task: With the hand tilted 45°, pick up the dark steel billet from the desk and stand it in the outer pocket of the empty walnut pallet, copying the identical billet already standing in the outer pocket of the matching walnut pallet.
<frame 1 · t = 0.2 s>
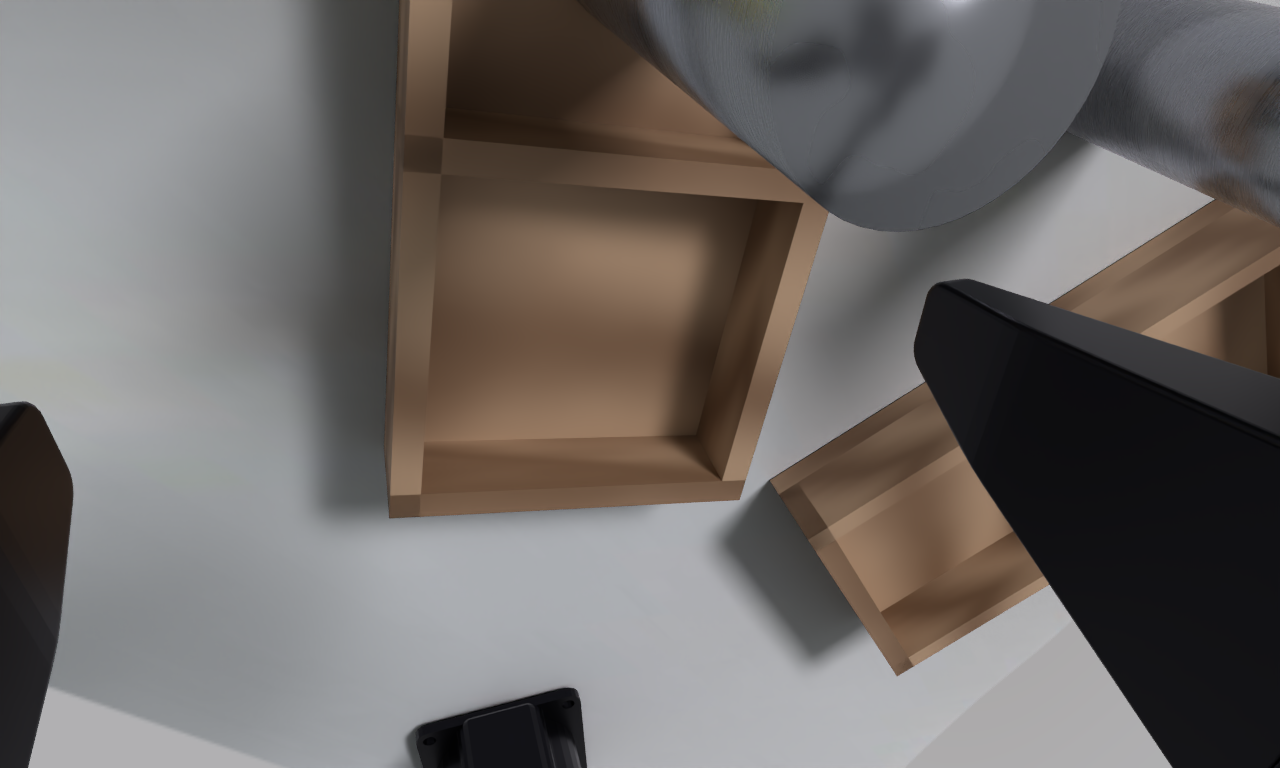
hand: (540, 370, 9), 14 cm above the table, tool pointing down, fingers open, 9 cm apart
pallet empty: (1037, 419, 34), on the table
billet: (1105, 58, 26), on the table
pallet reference: (604, 131, 22), on the table
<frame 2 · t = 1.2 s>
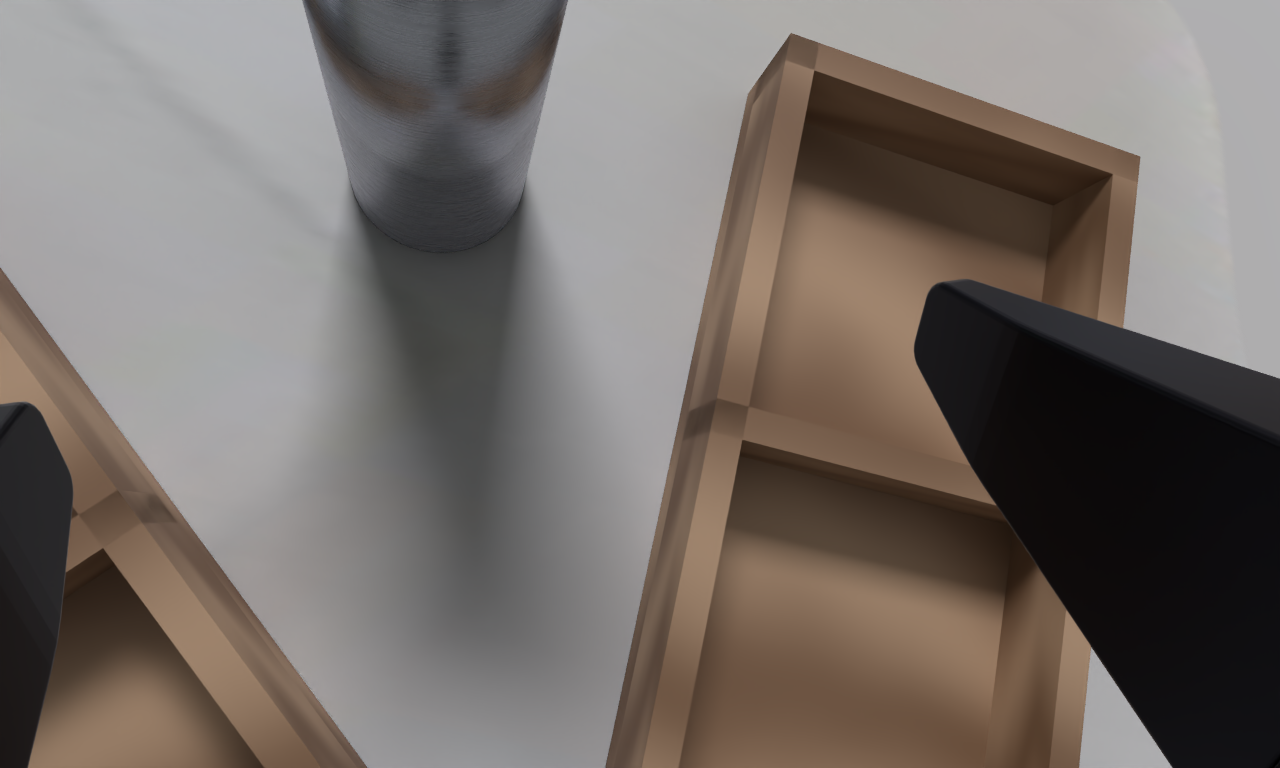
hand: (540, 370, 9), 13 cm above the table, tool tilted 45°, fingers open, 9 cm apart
pallet empty: (856, 475, 24), on the table
billet: (438, 170, 23), on the table
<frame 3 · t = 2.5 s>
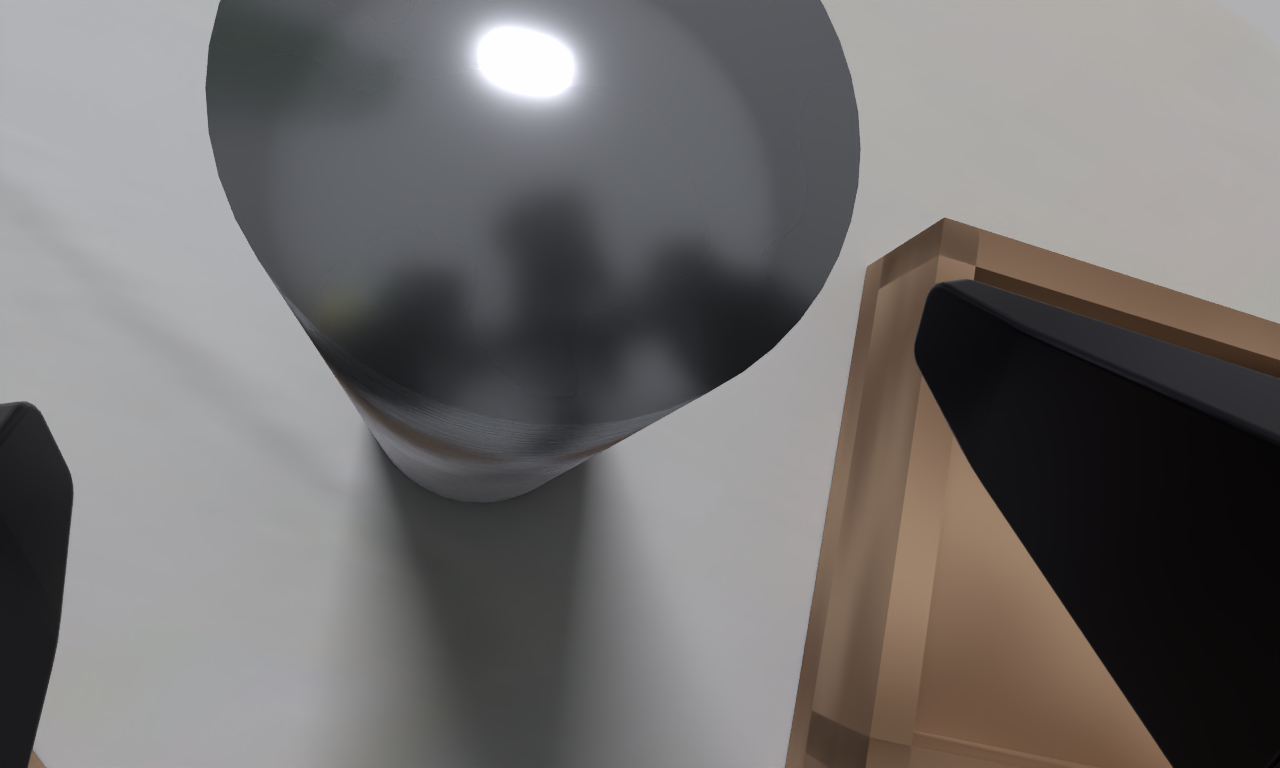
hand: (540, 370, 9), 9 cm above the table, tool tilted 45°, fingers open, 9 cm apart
pallet empty: (1017, 766, 19), on the table
billet: (482, 391, 17), on the table
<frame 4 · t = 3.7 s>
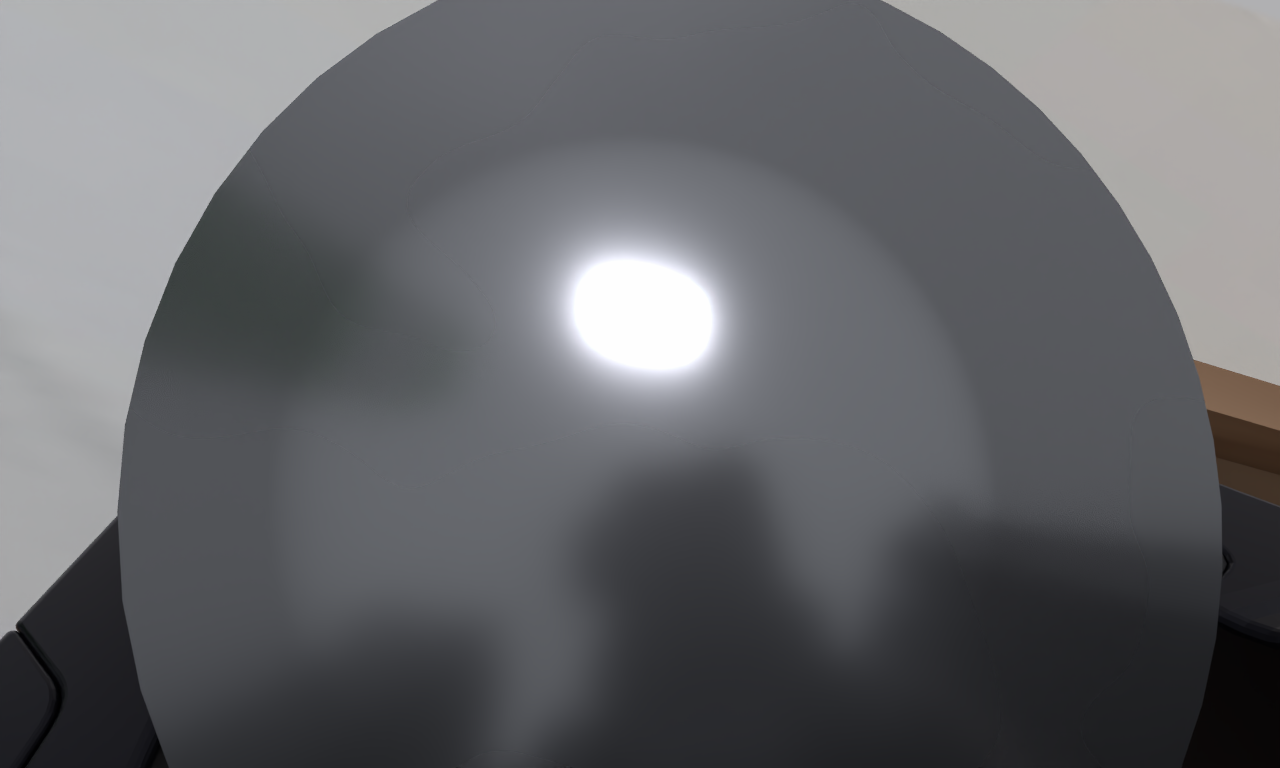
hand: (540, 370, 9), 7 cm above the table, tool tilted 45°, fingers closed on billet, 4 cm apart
billet: (511, 515, 15), on the table, touching gripper
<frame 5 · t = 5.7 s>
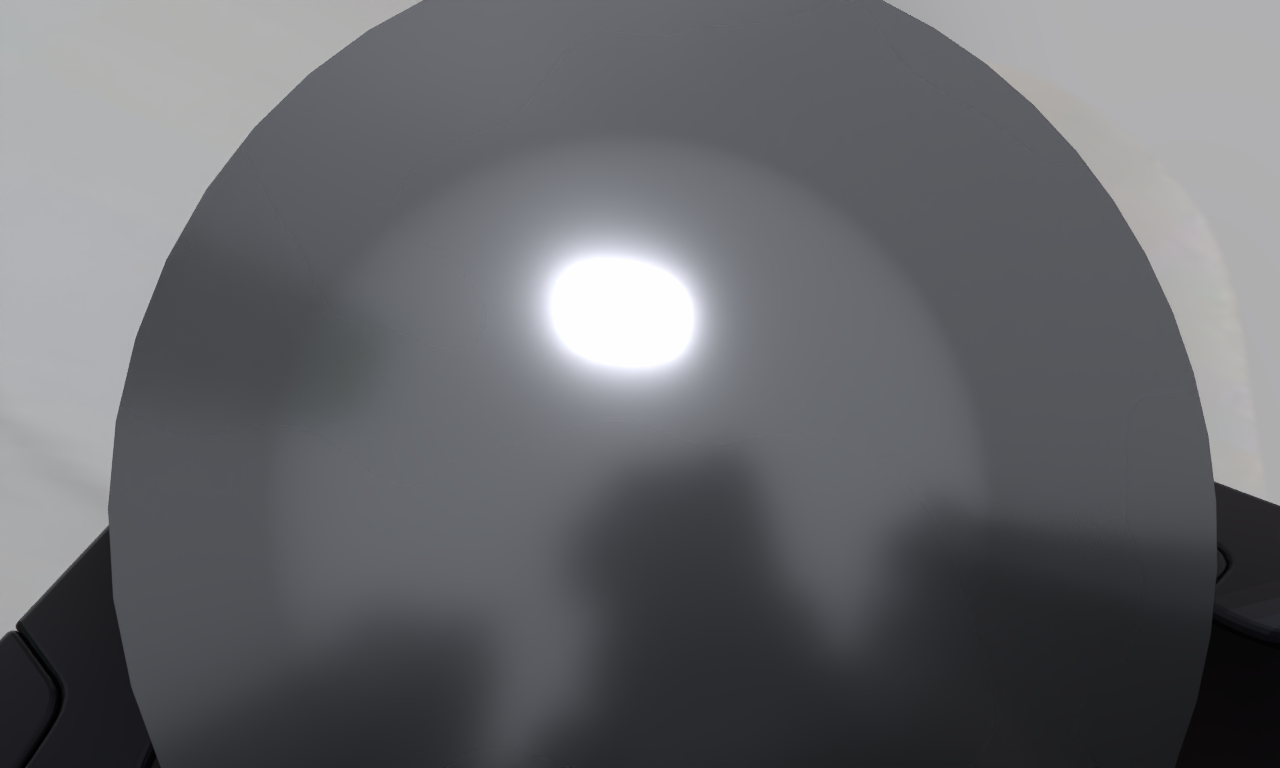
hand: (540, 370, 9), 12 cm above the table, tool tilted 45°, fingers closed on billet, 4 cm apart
billet: (510, 514, 15), point 6 cm above the table, touching gripper
when the fingers open (9 cm above the table, at t = 7.8 s): billet drops 1 cm, resting on pallet empty.
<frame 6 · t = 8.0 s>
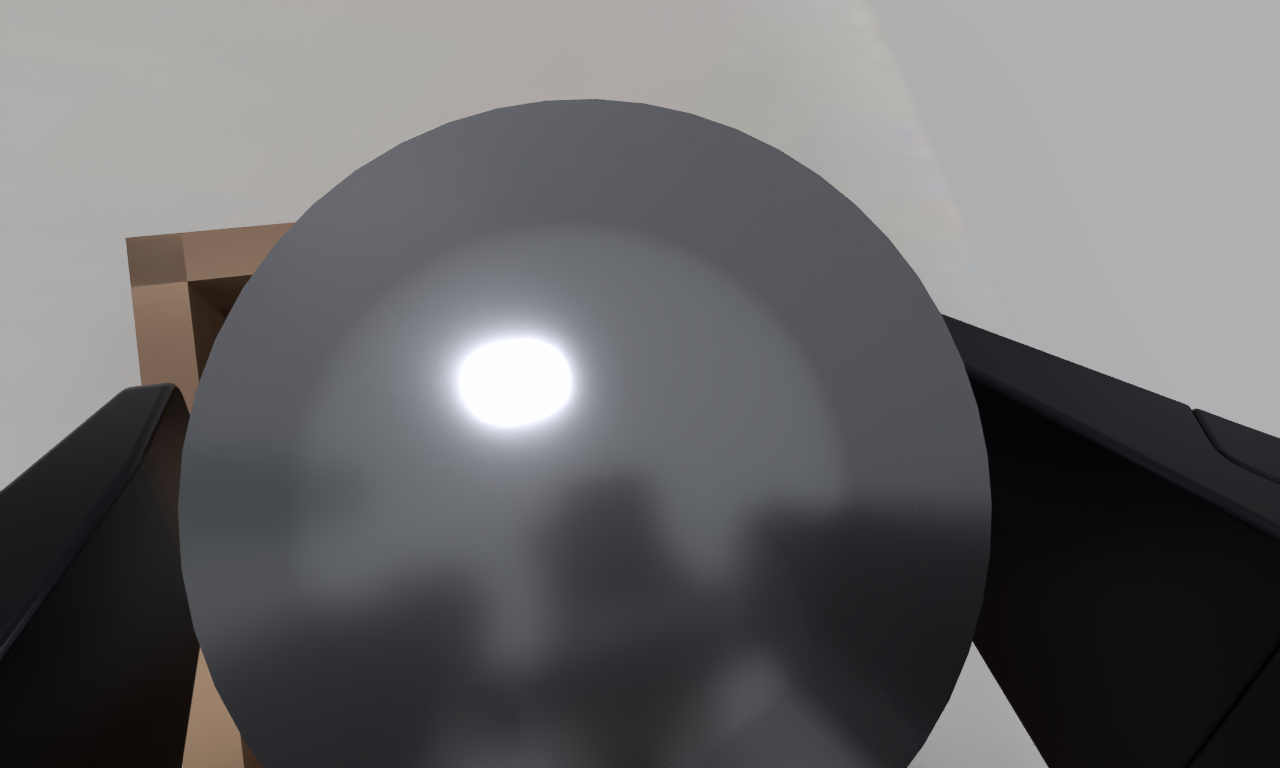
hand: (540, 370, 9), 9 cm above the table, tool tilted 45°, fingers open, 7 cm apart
billet: (507, 520, 16), point 1 cm above the table, touching pallet empty
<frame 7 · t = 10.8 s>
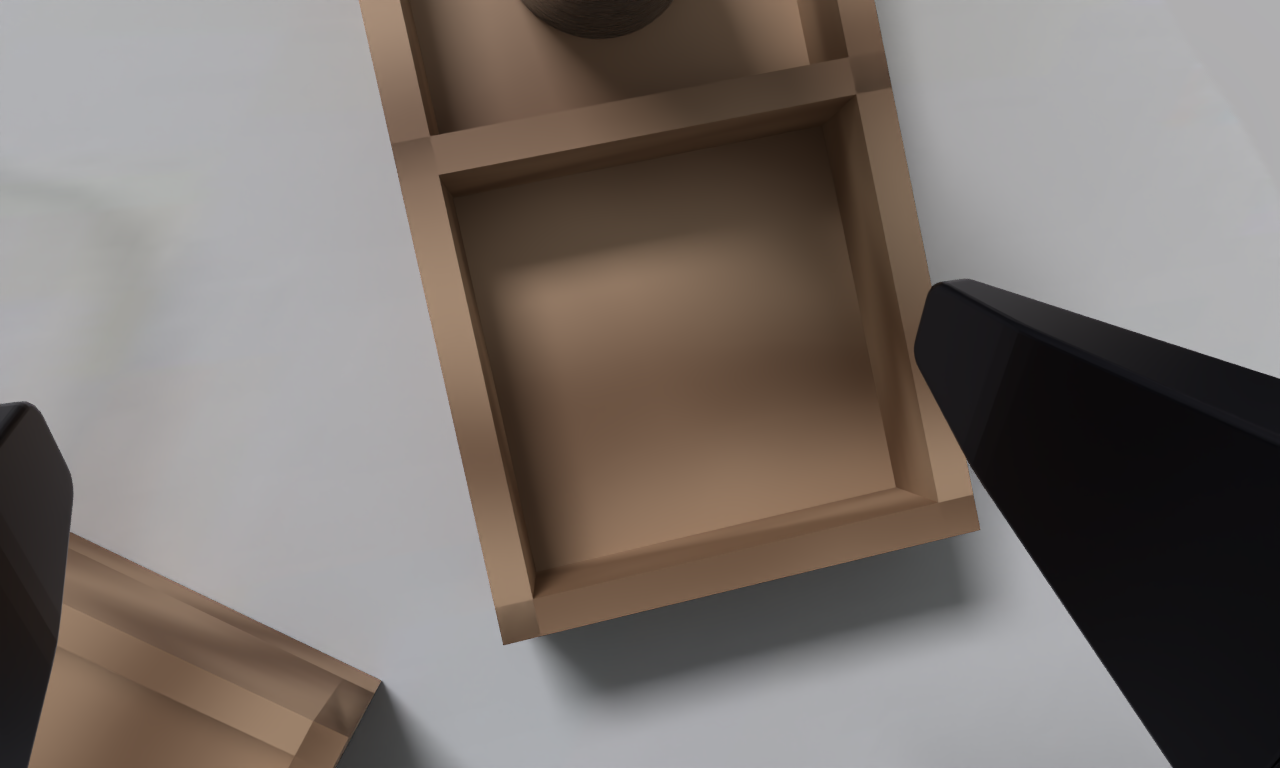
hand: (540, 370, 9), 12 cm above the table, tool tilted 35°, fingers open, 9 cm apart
pallet empty: (634, 152, 21), on the table
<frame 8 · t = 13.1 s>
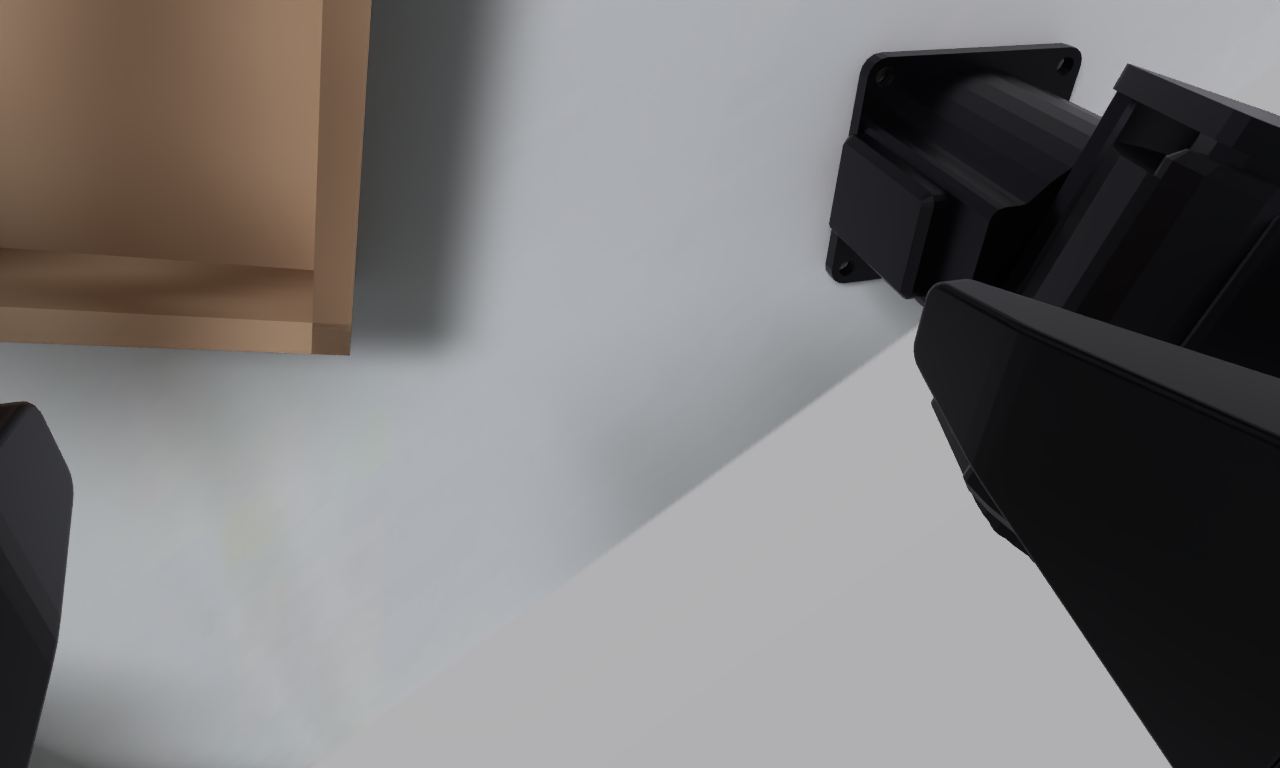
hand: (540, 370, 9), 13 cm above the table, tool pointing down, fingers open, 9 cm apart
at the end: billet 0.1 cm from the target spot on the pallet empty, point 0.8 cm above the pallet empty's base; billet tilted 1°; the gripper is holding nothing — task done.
